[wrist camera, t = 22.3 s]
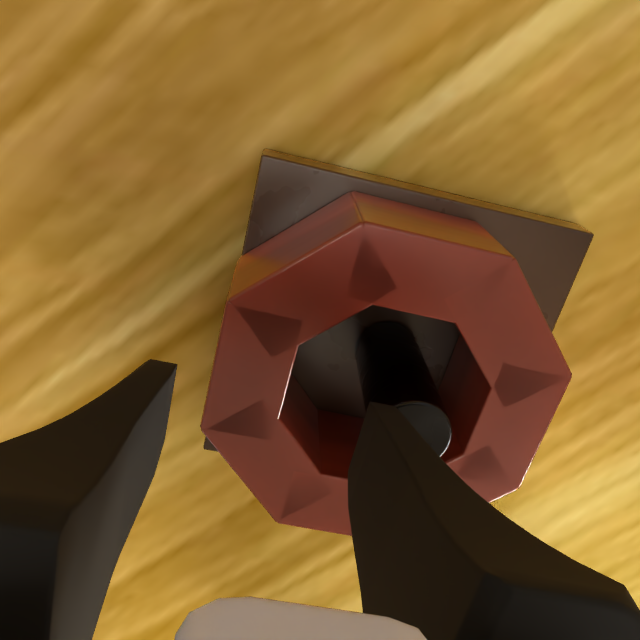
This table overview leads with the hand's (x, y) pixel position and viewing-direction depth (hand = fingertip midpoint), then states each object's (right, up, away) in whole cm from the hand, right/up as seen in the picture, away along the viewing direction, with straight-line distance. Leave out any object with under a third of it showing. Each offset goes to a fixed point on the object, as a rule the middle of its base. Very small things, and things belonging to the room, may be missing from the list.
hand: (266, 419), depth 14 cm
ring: (+3, +1, +5) cm, 6 cm away
